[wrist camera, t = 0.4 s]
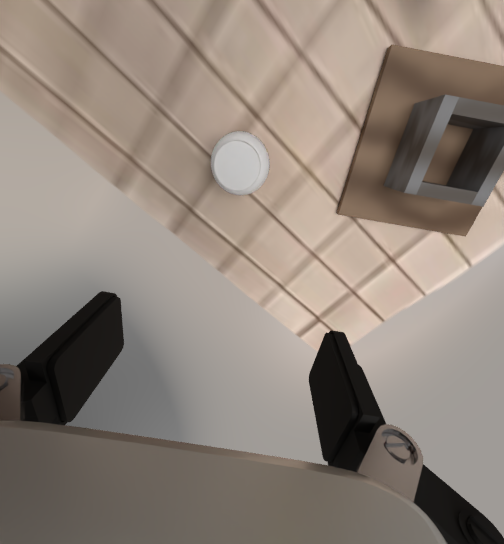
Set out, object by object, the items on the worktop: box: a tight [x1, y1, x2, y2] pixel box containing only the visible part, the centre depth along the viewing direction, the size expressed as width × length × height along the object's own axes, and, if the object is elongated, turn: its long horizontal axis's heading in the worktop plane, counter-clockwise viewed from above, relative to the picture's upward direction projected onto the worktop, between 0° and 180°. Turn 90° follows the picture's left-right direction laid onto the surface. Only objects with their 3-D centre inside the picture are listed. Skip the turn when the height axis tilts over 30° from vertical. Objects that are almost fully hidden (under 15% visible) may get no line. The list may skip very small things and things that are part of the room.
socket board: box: [336, 45, 504, 236], centre depth 32 cm, size 20×20×7 cm
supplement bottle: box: [211, 131, 270, 195], centre depth 31 cm, size 7×7×13 cm
